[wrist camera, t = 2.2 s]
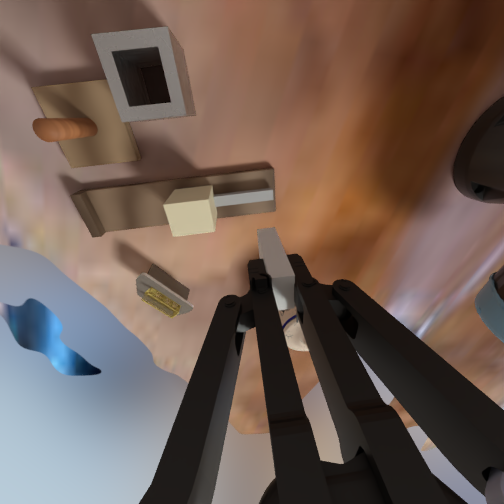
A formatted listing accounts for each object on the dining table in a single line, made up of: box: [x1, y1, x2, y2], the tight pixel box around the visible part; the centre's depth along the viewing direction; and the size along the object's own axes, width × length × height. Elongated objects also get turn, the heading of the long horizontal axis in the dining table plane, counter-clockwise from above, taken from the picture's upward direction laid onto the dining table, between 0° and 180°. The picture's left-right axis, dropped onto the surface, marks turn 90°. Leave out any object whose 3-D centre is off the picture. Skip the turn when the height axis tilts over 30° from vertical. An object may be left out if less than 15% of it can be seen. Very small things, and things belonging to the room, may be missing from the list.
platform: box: [136, 264, 193, 318], centre depth 37 cm, size 12×18×7 cm, turn 40°
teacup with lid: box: [278, 305, 309, 351], centre depth 39 cm, size 12×9×12 cm
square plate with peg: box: [31, 79, 141, 168], centre depth 23 cm, size 8×8×8 cm
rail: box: [70, 168, 276, 237], centre depth 31 cm, size 26×6×2 cm, turn 95°
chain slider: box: [163, 185, 273, 237], centre depth 28 cm, size 13×4×6 cm, turn 95°
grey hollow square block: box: [91, 26, 196, 122], centre depth 22 cm, size 6×6×7 cm
